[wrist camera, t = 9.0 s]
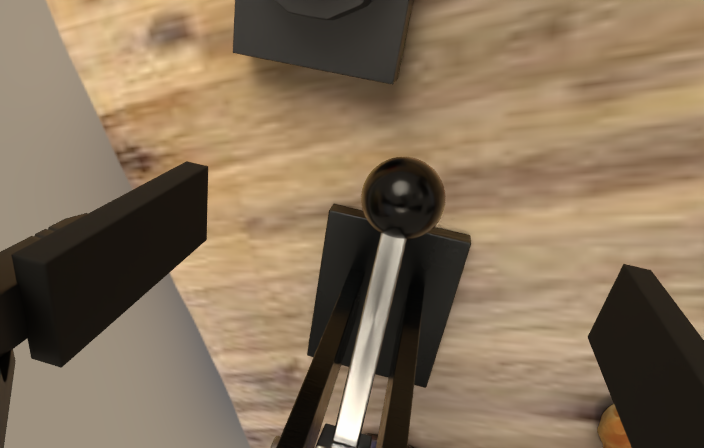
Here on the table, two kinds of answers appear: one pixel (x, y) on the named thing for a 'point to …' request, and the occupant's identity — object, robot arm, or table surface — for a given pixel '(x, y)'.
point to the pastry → (612, 430)
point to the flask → (374, 441)
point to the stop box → (326, 34)
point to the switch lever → (383, 278)
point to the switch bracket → (401, 330)
